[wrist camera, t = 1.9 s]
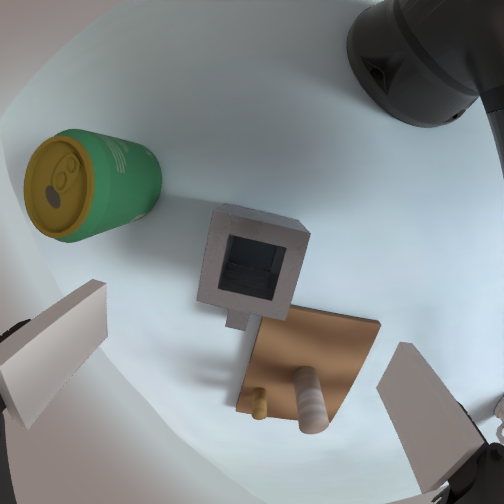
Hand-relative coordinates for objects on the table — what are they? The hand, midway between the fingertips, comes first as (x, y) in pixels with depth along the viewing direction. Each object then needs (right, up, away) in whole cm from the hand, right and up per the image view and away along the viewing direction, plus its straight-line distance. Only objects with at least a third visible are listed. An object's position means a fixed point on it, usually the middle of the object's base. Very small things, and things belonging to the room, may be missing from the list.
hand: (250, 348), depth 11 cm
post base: (+6, -10, +19) cm, 23 cm away
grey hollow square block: (0, +2, +17) cm, 17 cm away
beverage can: (-12, +11, +15) cm, 22 cm away
